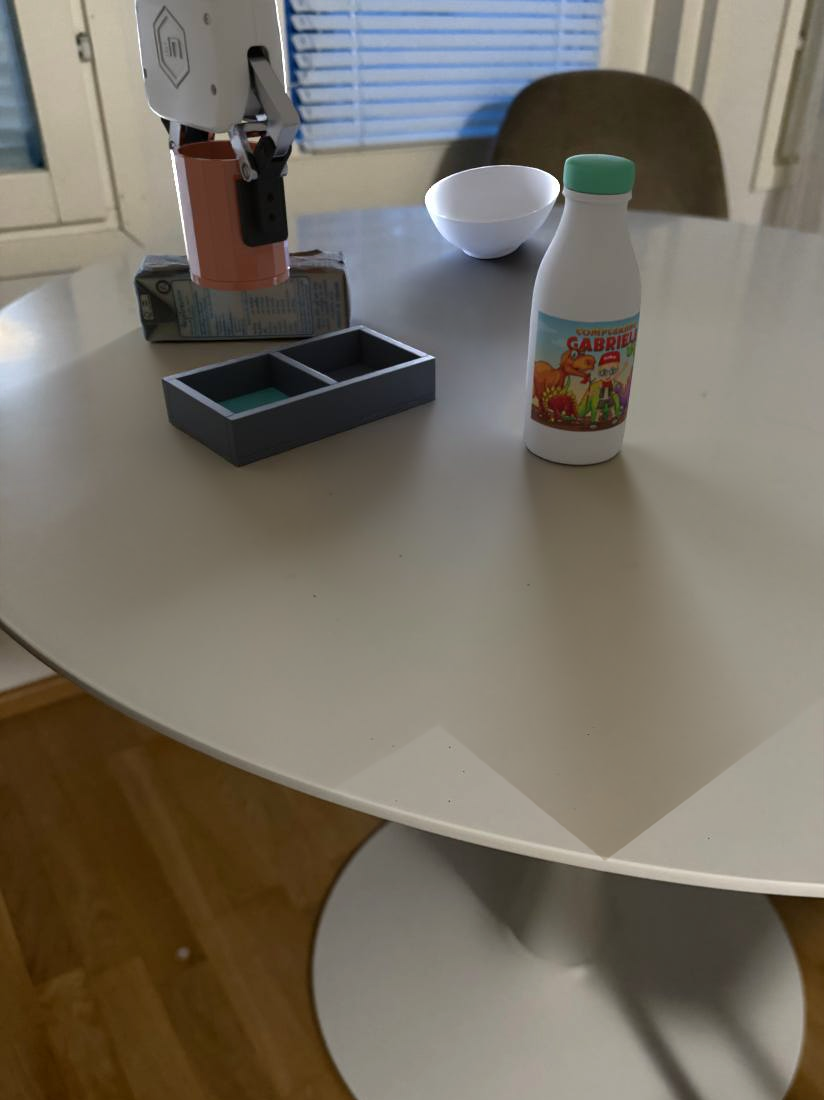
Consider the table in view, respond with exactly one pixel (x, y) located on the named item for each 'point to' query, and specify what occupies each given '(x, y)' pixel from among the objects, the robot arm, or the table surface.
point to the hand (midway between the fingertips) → (234, 228)
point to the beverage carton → (244, 301)
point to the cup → (220, 222)
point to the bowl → (491, 207)
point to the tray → (298, 392)
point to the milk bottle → (584, 319)
